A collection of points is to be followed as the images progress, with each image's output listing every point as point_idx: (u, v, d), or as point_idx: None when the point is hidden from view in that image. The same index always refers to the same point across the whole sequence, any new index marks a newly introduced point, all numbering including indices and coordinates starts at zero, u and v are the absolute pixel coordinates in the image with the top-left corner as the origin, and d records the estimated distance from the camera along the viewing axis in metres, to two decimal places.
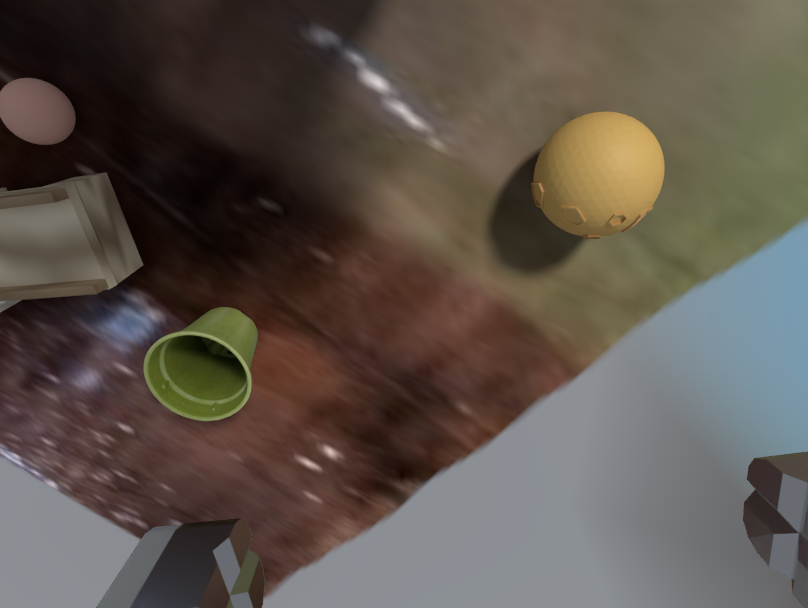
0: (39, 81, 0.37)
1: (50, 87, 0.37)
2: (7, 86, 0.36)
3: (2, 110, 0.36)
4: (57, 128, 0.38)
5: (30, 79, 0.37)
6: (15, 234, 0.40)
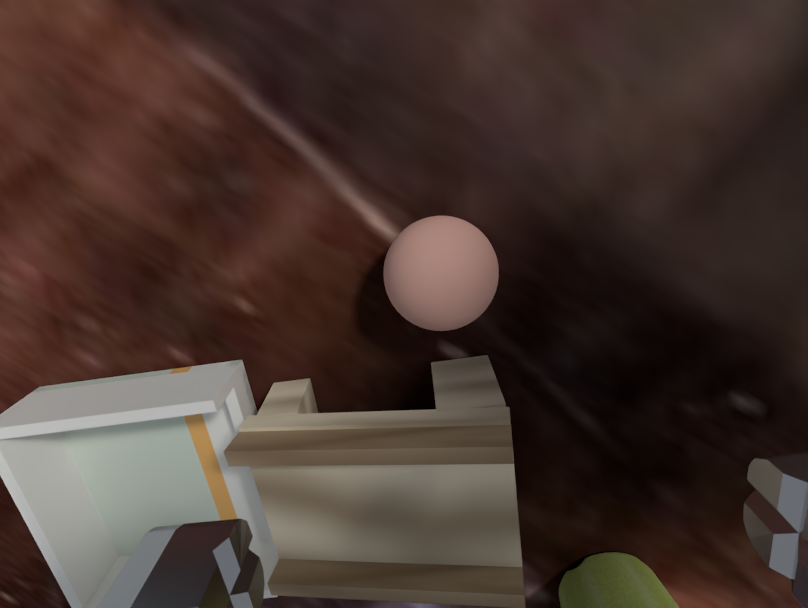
0: (466, 223, 0.20)
1: (482, 234, 0.20)
2: (426, 237, 0.19)
3: (416, 283, 0.18)
4: (487, 306, 0.20)
5: (454, 220, 0.19)
6: (367, 487, 0.22)
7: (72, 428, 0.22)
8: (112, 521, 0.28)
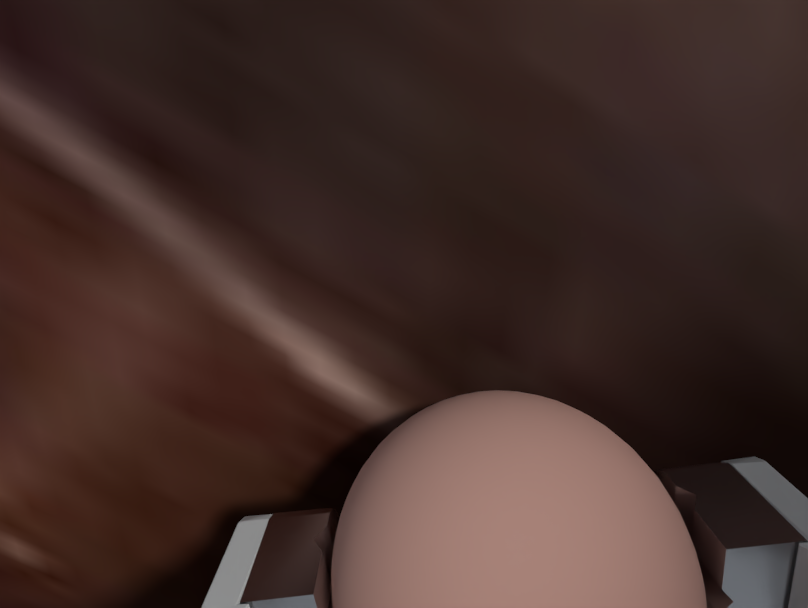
0: (603, 445, 0.06)
1: (651, 474, 0.06)
2: (476, 543, 0.05)
3: None
4: None
5: (567, 445, 0.06)
6: None
7: None
8: None
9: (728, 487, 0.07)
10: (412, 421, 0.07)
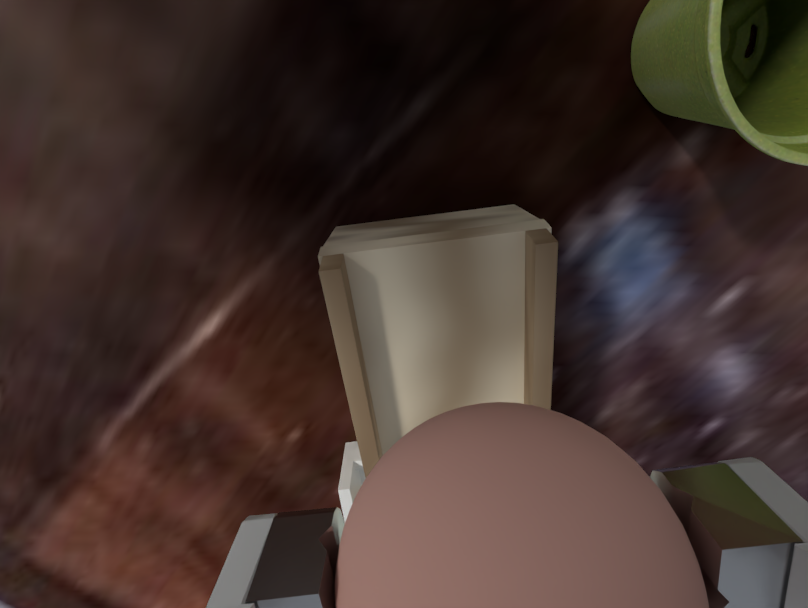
0: (606, 460, 0.06)
1: (654, 487, 0.06)
2: (480, 561, 0.05)
3: None
4: None
5: (570, 460, 0.06)
6: (422, 382, 0.21)
7: None
8: None
9: (725, 488, 0.07)
10: (415, 434, 0.07)
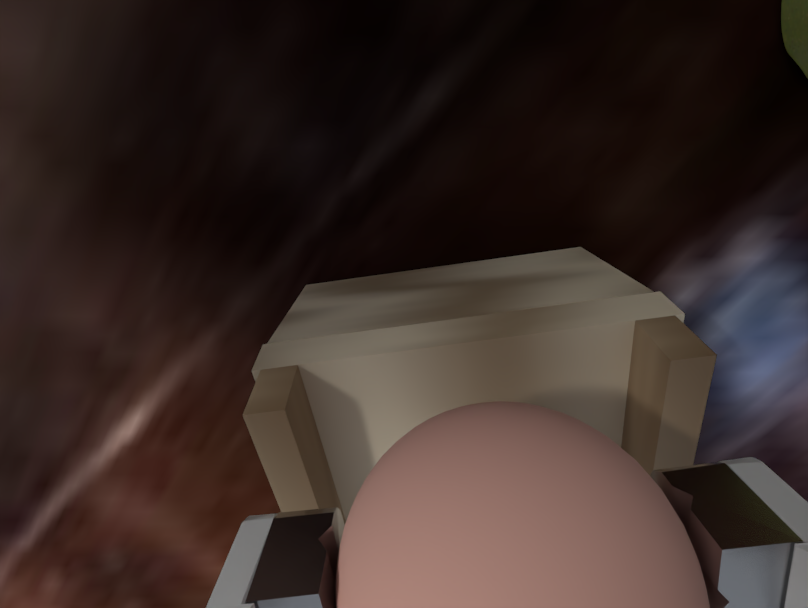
0: (607, 459, 0.06)
1: (655, 486, 0.06)
2: (481, 559, 0.05)
3: None
4: None
5: (571, 459, 0.06)
6: None
7: None
8: None
9: (724, 487, 0.07)
10: (416, 433, 0.07)
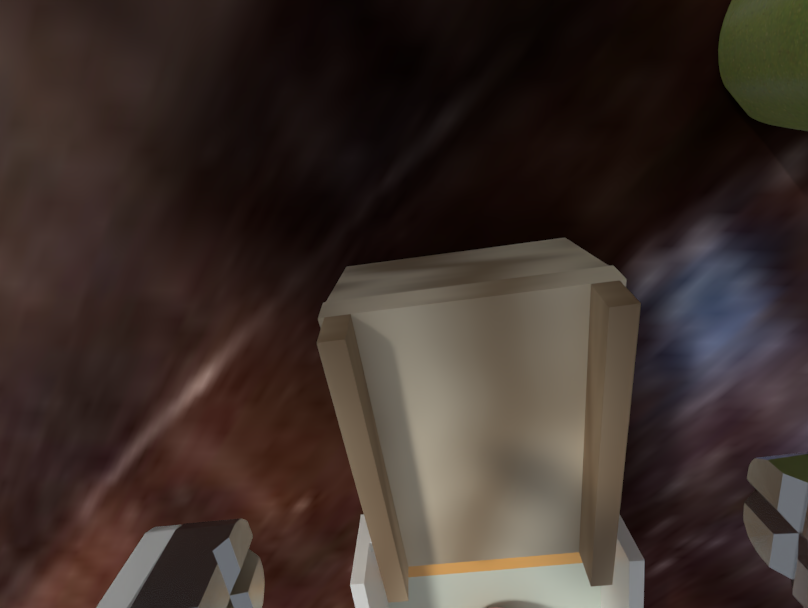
0: None
1: None
2: None
3: None
4: None
5: None
6: (452, 465, 0.17)
7: None
8: None
9: None
10: None
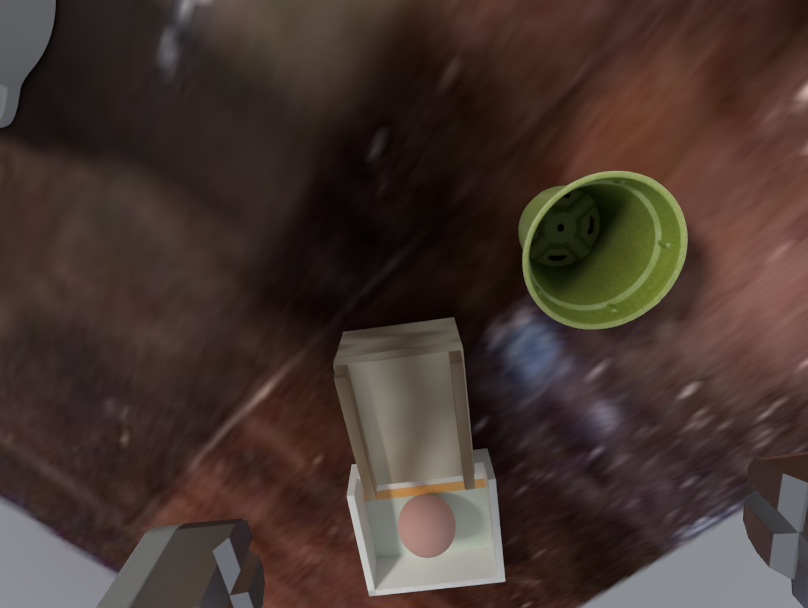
0: (440, 516, 0.39)
1: (448, 518, 0.40)
2: (420, 533, 0.38)
3: (416, 551, 0.39)
4: None
5: (434, 518, 0.39)
6: (395, 431, 0.36)
7: (366, 558, 0.41)
8: (462, 544, 0.45)
9: None
10: (411, 508, 0.40)
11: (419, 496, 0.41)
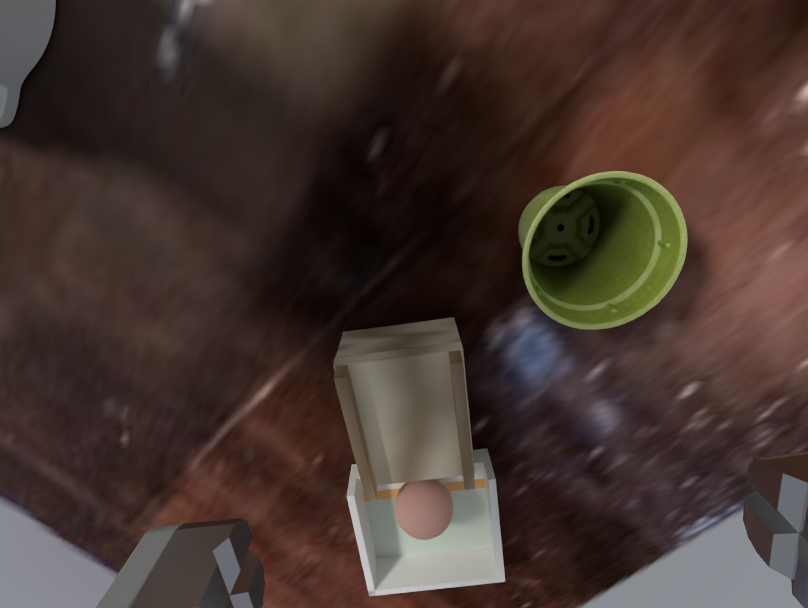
0: (435, 481, 0.40)
1: (444, 486, 0.40)
2: (414, 490, 0.39)
3: (409, 514, 0.38)
4: (446, 526, 0.39)
5: (429, 480, 0.40)
6: (395, 431, 0.36)
7: (366, 558, 0.41)
8: (462, 544, 0.45)
9: None
10: None
11: None
